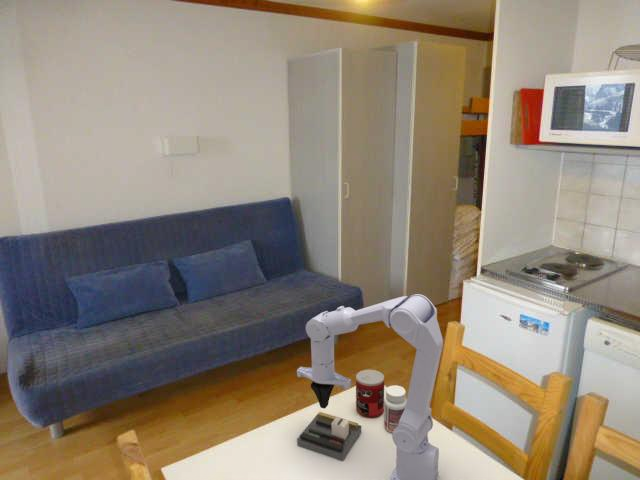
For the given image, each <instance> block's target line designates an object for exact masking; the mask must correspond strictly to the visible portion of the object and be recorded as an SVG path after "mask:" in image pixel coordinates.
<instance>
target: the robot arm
mask: <svg viewBox="0 0 640 480" xmlns="http://www.w3.org/2000/svg"><path fill="white" fill-rule="evenodd" d="M437 318H438V309H437V307H435V305H434V304H433V303H432V301H431V300H430V299H429V298H428V297H427V296H425V295H423V294H419V293H418V294H417V293H414V294H412V295H410V296H408V295H404V296H399V297H395V298H392V299H388V300H385V301H382V302H379V303H376V304H373V305H370V306H367V307H363V308H360V309H357V310H356V309H354V308H352V307H350V306H348V307H345V306H344V305H341V306H339V307H337V308H336V309H335V310H333V311H328V310H326V311H322V312H320V313H319V314H317V315H316V316H314V317H312V318H311V319H309V320H308V321H307V322H306V324H305V333H306V334H307V336H308V338H309V339H310V349H311V367H304V366H299V367H298V368H297V370H296V376H297V378H302V377H303V378H304V377H305V378H307V379H309V380H310V381H312V383H310V389H312V391H313V392H314V394H315V396H316V399H317V401H318V405H319V408H321V409H326V408H327V407H328V405H329V401H330V397H331V394H332V392H333V390H334V388H335V386H337V387H341V388H344V390H347V391H348V390H349V389H350V387H352V379H351V378H348V377H345V376H344V375H342V374H339V373H338V372H336V371H335V342H334V341H335V336H338V335H341V334H342V335H344V334H347V333H352V332H355V331H356V330H357V329H358V328H359V325H364V324H370V323H376V322H383V323H384V324H385V326H386V327H387V328H388V329H390V328H392V329H393V331H394V332H395V333H396V334H397V335H398V336H400V337H401V338H403V339H404V340H405V341H406V342H407V343H408V344H409V345H410V346H412V347H413V348H415V349H416V350H415V351H416V352H415V356H414V362H413V367H412V371H411V377H410V381H409V386H408V392H407V395H406V396H407V397H406V399H407V401H406V406H405V410H404V412H403V414H402V416H401V418H400V420H399V424H398V427H396V428H395V429H394V431H393V433H392V435H391V438H392V441H393V443H394V445H395V447H396V463H395V465H396V466H395V467H394V470H393V471H392V473H391V476H390V478H389V479H390V480H436V479H437V477H438V473H439V458H440V457H439V456H440V450H439V448H438V447H436V446H434V445H433V444H431V443H430V442H429V437H428V434H429V432H430V431H431V430H432V429H433V425H434V421H433V417H432V411H433V409H432V408H431V403H432V402H431V401H432V396H433V392H434V388H435V382H436V380H437V379H436V378H437V374H438V369H439V364H440V360H441V357H442V351H443V347H444V338H443V335H442V332H441V328H440V324H439V321H438V319H437Z"/></svg>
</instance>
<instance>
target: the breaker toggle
mask: <svg viewBox="0 0 640 480" xmlns="http://www.w3.org/2000/svg"><path fill="white" fill-rule="evenodd" d="M337 417H338V416H336V418H335V419H334V421H333V422H332V423H331V427H332V435H333V436H336V437H339V438H342V439H344V440H345V439H346V437H347V436H348V435H349V421H350V420H349V421H347V420H348V419H346V420H344V419H345V418H342V419H341V417H339V418H337Z"/></svg>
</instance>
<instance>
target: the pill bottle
mask: <svg viewBox="0 0 640 480" xmlns="http://www.w3.org/2000/svg"><path fill="white" fill-rule="evenodd" d="M385 391H386V392H385V397H384V410H383V423H384V424H383V426H384V429H385V430H386V431H388V432H389V433H393V431H394V429H395V428H396V427H398V424H399V420H400V418H401V416H402V414H403V412H404V410H405V406H406V401H407V397H406V396H407V395H406V393H407V391H406V389H405V388H404V387H403V386H401V385H389V386H388V387H387V388H386V389H385Z"/></svg>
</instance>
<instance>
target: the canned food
mask: <svg viewBox="0 0 640 480" xmlns="http://www.w3.org/2000/svg"><path fill="white" fill-rule="evenodd" d="M384 400H385V375H384V374H383V373H382V372H381V371H378V370H377V369H376V370H375V369H363V370H360V371H359V372H357V373H356V376H355V407H356V411H357V413H358V414H359V415H360V416H362V417H364V418H369V419H370V418H371V419H372V418H377V417H380V416H381V415H382V414H383V413H384Z"/></svg>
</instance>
